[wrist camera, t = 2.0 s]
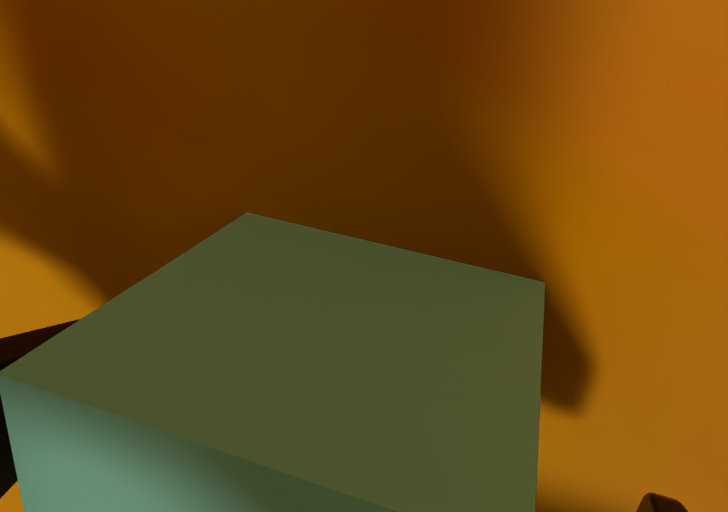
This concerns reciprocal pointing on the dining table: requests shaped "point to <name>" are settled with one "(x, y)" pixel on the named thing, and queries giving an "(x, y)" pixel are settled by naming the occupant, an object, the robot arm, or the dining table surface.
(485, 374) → the teal block
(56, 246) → the dining table surface
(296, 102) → the dining table surface
